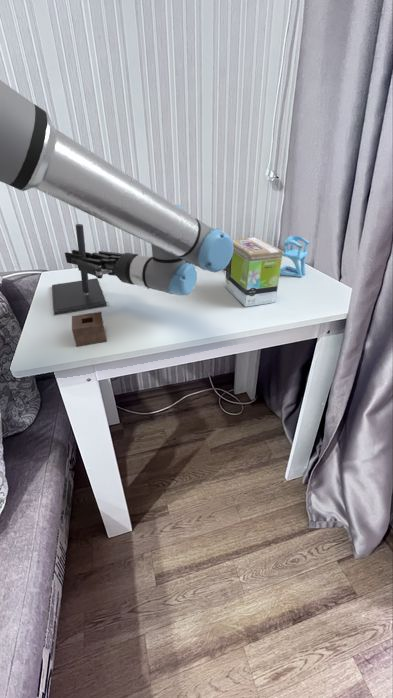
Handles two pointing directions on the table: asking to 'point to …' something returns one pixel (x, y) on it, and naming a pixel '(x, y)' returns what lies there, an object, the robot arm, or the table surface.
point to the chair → (295, 256)
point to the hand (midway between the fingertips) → (70, 256)
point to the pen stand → (88, 329)
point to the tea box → (253, 271)
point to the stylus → (82, 252)
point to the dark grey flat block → (77, 297)
